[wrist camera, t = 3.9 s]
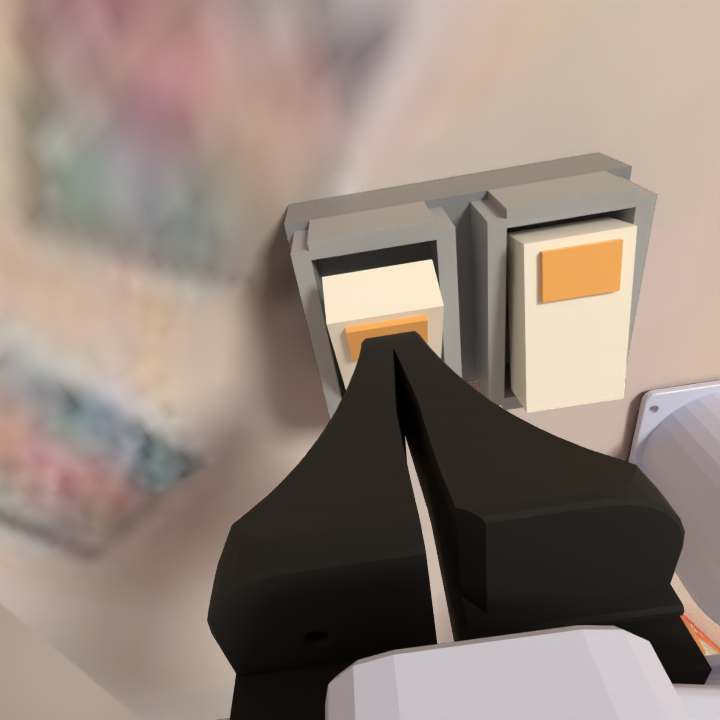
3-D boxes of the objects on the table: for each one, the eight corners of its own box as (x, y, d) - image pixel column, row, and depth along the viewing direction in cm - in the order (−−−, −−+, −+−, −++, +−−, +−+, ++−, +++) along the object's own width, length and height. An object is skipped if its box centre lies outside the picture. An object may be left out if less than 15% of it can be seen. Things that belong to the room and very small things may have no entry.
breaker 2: (599, 375, 19) (626, 401, 17) (510, 388, 19) (528, 415, 17) (608, 216, 16) (640, 226, 15) (506, 233, 17) (526, 245, 15)
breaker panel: (579, 332, 23) (629, 391, 19) (326, 371, 24) (326, 436, 20) (599, 152, 19) (669, 182, 15) (288, 204, 19) (278, 247, 15)
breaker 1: (430, 360, 20) (439, 404, 19) (348, 373, 20) (353, 417, 19) (432, 259, 15) (445, 311, 14) (322, 276, 15) (327, 329, 14)
